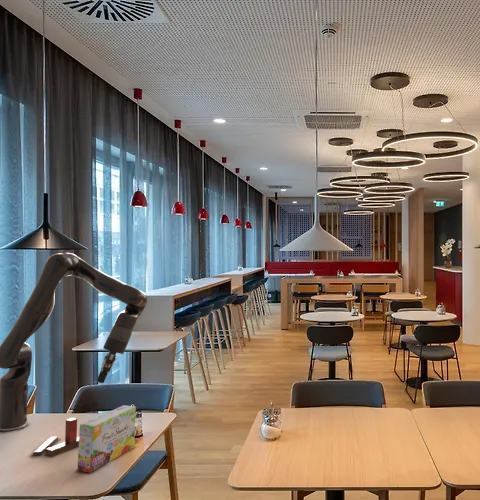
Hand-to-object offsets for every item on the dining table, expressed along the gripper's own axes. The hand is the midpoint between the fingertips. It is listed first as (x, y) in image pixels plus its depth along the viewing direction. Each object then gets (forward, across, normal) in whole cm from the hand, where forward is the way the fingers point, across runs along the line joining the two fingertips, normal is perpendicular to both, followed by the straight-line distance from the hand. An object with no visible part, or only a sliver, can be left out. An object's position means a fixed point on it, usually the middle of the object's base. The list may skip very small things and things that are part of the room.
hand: (99, 381), depth 171 cm
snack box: (+23, +12, +12) cm, 28 cm away
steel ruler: (+26, -8, -8) cm, 28 cm away
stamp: (+24, -4, 0) cm, 24 cm away
